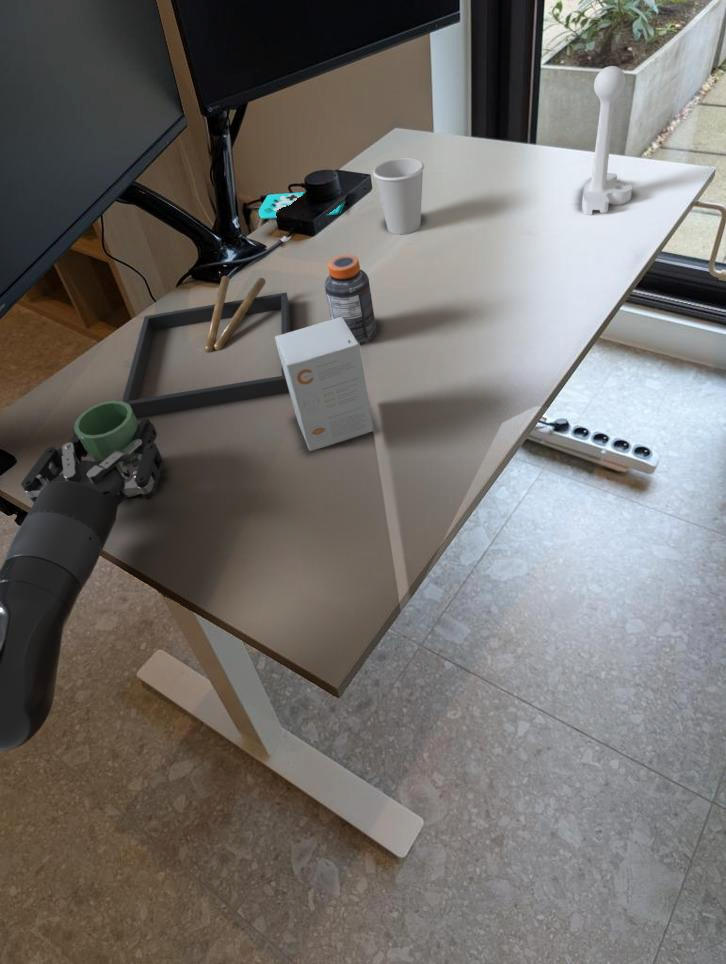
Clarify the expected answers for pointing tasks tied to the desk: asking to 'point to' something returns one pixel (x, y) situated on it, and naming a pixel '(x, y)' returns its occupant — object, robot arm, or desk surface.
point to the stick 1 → (217, 314)
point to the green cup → (106, 429)
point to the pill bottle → (351, 297)
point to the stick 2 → (239, 314)
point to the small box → (326, 382)
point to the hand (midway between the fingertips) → (119, 426)
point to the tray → (207, 394)
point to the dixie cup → (400, 193)
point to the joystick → (605, 148)
